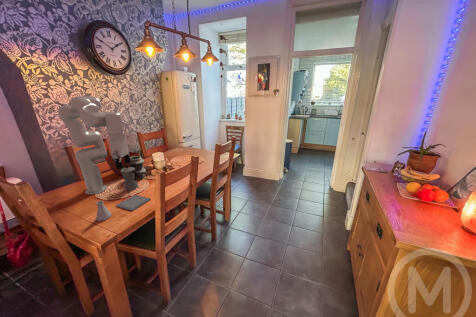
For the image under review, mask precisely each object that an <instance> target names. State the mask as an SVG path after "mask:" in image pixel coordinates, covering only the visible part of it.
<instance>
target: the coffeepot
mask: <svg viewBox="0 0 476 317" xmlns="http://www.w3.org/2000/svg"><path fill="white" fill-rule="evenodd" d="M120 171H121V173H122V175H123V176H122V178H123V179H124V190H125V191H126V190H127V192H129V191H130V192H131V190H132V191H135V190H137V189H138V188H139V184H138V182H137V180H136V179H137V172H136V171H135V168H134V167H129V168H128V166H126V168H123V169H122V170H120ZM137 187H138V188H137ZM136 188H137V189H136ZM134 189H135V190H134Z"/></svg>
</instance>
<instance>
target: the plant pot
mask: <svg viewBox="0 0 476 317" xmlns="http://www.w3.org/2000/svg"><path fill="white" fill-rule="evenodd" d="M129 154H130V157H133V156H140V153H138V152H134V151H133V152H132V151H129ZM117 157H118V156H117ZM104 159H105V161H106V163H107V165H108V166H109V168H110V170H111V171H112V172H113V173H114V174H115V175H117V176H120V177H121V176H122V177H123V175H122V173H121V171H120V170H122V169H116V165H115V162H114V161H113V159H112V154H110V155H107V156H106V157H105V158H104ZM117 159H118V160H119V158H117ZM121 162H122V165H123V168H126V166H128V168H129V167H130V165H129V164H128V163H125V161H124V157H122V158H121Z"/></svg>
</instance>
